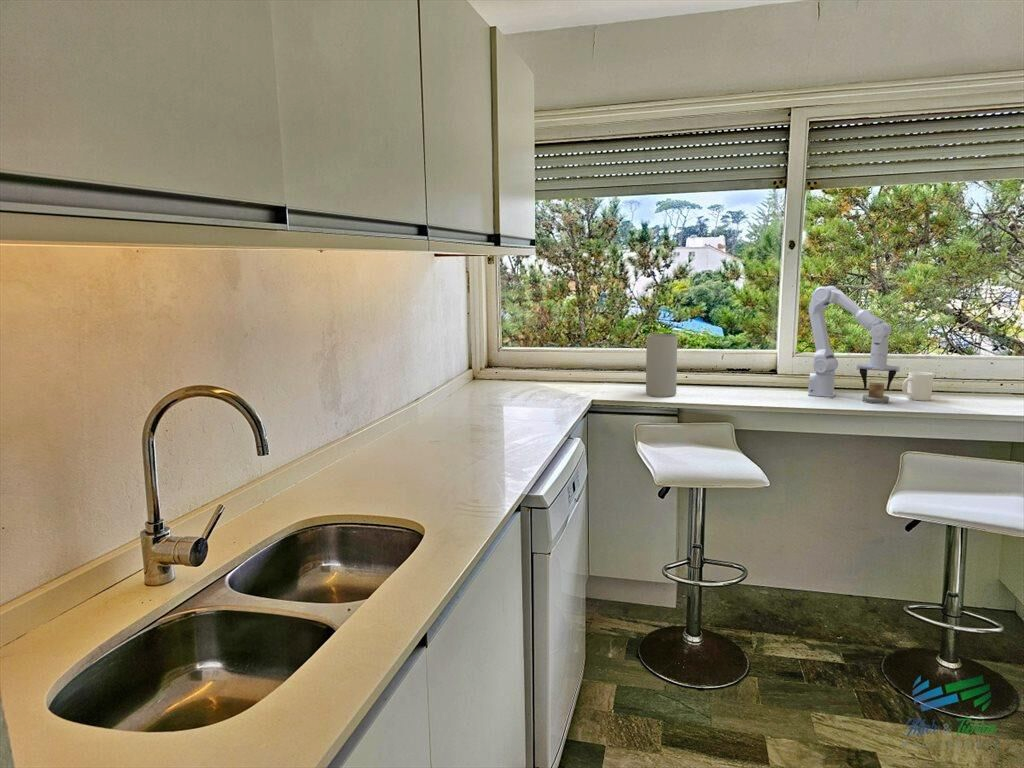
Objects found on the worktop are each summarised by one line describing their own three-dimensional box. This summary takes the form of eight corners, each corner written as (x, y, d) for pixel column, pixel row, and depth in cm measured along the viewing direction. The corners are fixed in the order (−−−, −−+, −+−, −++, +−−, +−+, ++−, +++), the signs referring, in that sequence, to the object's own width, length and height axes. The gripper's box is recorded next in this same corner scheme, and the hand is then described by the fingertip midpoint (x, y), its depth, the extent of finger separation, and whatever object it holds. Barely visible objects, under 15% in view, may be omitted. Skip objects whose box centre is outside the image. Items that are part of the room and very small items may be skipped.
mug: (909, 402, 260) (911, 375, 258) (893, 398, 268) (895, 372, 266) (936, 400, 262) (938, 374, 260) (919, 396, 270) (921, 371, 268)
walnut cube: (868, 397, 261) (869, 384, 260) (868, 394, 265) (869, 382, 264) (883, 398, 258) (884, 385, 257) (883, 395, 262) (884, 383, 262)
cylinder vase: (679, 397, 279) (680, 336, 274) (648, 397, 279) (649, 337, 275) (672, 391, 291) (673, 333, 287) (643, 392, 291) (644, 334, 287)
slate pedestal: (861, 402, 261) (862, 397, 260) (863, 398, 268) (863, 393, 268) (888, 404, 256) (888, 399, 256) (889, 400, 264) (889, 395, 263)
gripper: (857, 354, 259) (854, 389, 261) (900, 356, 252) (897, 392, 254) (858, 352, 265) (856, 386, 267) (901, 354, 258) (898, 389, 260)
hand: (876, 389), depth 261 cm, fingers open, 7 cm apart
